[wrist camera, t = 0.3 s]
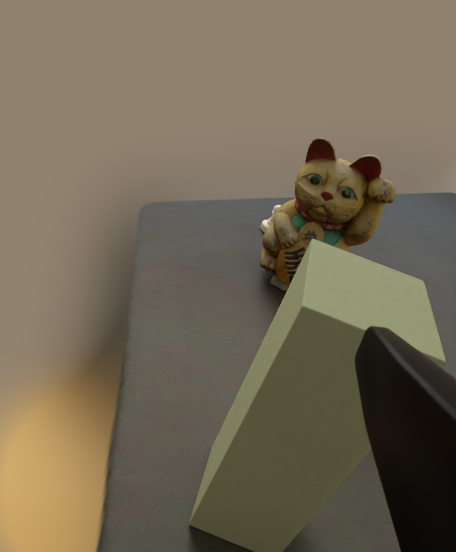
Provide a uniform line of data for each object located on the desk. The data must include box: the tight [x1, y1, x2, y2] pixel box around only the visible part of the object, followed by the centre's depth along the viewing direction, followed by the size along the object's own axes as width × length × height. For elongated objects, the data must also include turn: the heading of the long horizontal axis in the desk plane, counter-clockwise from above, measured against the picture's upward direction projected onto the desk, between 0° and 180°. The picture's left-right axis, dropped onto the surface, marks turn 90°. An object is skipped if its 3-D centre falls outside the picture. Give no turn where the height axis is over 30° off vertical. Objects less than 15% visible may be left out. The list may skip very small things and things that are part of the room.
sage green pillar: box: [189, 239, 446, 552], centre depth 21 cm, size 5×5×16 cm
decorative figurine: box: [260, 138, 396, 292], centre depth 41 cm, size 10×8×15 cm
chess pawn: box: [261, 205, 281, 233], centre depth 52 cm, size 3×3×4 cm
